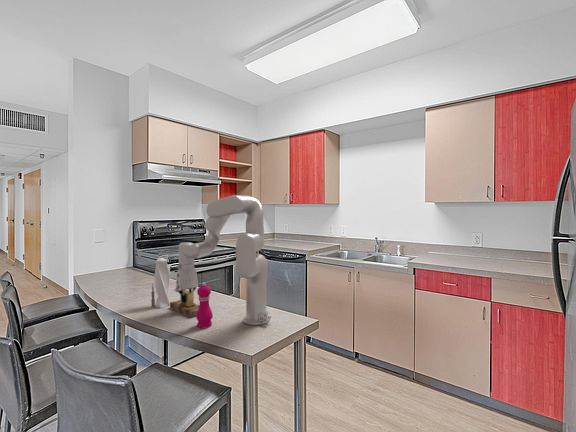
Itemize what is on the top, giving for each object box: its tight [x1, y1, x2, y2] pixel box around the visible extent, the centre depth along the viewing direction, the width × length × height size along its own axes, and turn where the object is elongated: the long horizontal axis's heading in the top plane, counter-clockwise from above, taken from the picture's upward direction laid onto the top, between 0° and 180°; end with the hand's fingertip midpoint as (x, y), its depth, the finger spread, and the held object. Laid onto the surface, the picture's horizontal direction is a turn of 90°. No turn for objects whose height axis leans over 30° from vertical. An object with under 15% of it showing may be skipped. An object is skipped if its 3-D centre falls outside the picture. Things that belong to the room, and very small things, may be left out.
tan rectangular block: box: [179, 289, 195, 307], centre depth 160 cm, size 8×3×7 cm, turn 48°
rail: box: [169, 299, 200, 319], centre depth 160 cm, size 22×8×3 cm, turn 48°
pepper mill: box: [195, 282, 213, 329], centre depth 140 cm, size 7×7×20 cm
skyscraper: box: [150, 254, 171, 310], centre depth 168 cm, size 8×8×28 cm
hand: (187, 301), depth 160 cm, fingers closed on tan rectangular block, 3 cm apart
